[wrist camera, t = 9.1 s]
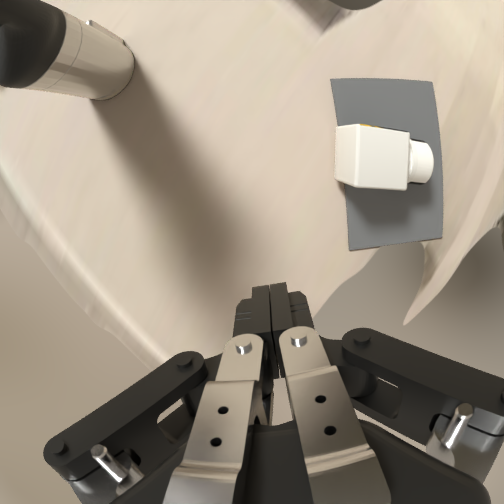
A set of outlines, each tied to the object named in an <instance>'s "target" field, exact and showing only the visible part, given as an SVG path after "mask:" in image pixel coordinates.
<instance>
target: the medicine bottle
mask: <svg viewBox="0 0 504 504" xmlns="http://www.w3.org/2000/svg"><path fill="white" fill-rule="evenodd" d="M433 167H434V158H433V153H432V150H431V148H430V147H429V145H428V144H427V143H426V142H425V141H422V140H417V139H412V138H410V133H409V132H408V131H403V130H398V129H392V128H385V127H379V126H372V125H365V124H353V125H345V126H338V127H336V144H335V174H334V178H335V180H337V181H340V182H343V183H345V184H348V185H351V186H353V187H356V188H373V189H388V190H402V191H404V190H406V189H407V184H416V185H423V184H425V183H426V182H427V181H428V180H429V179H430V177H431V175H432V172H433Z"/></svg>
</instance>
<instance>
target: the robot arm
mask: <svg viewBox="0 0 504 504" xmlns="http://www.w3.org/2000/svg"><path fill="white" fill-rule="evenodd" d="M133 70H134V57H133V55H132V52H131V51H130V50H129V48H127V47H126V46H125V45H124V44H123V39H121V38H120V37H118V36H117V35H115V34H114V33H112V32H110V31H109V30H107V29H105V28H104V27H102V26H101V25H99V24H97V23H96V22H94V21H92V20H90V21H87V22H83V21H81V20H79V19H78V18H76V17H74V16H72V15H70V14H68V13H66V12H64V11H62V10H60V9H58V8H56V7H54V6H52V5H50V4H47V3H45V2H43V1H40V0H0V85H1V86H4V87H9V88H19V89H29V90H38V91H46V92H53V93H60V94H66V95H73V96H79V97H84V98H90V99H95V100H106V99H109V98H112V97H114V96H115V95H117V94H118V93H120V92H121V91H122V90H123V89H124V88H125V86H126V85H127V84H128V82H129V81H130V78H131V76H132V74H133ZM278 363H279V366H278ZM279 369H280V375H281V378H284V377H285V380H286V386H287V393H288V397H289V402H290V408H291V412H292V418H293V420H292V421H289V422H287V423H283V424H280V425H276V426H272V414H273V398H274V393H273V385H274V384H273V379H277V378H279ZM378 377H379V378H381V379H384V380H385V381H388V382H390V383H392V384H394V385H396V386H398V388H397V387H395V386H393V385H391V384H389V383H387V382H384V381H382V380H380V379H378ZM180 398H181V400H182V402H183V404H182V405H181V406H180V407H178V408H177V409H176V410H175V411H173V412H172V413H171V414H169V415H168V416H167V417H166V418H165V419H163V420H162V421H161V422H159V423H158V424H157V419H158V417H159V415H160V414H161V413H162V412H163V411H165V410H166V409H167V408H169V407H170V406H171V405H173V404H174V403H175V402H176V401H178V400H179V399H180ZM354 408H355V409H356V410H358V411H360V412H362V413H363V414H365V415H367V416H369V417H371V418H372V419H374V420H376V421H378V422H380V423H382V424H384V425H385V426H387V427H389V428H391V429H393V430H395V431H397V432H399V433H401V434H403V435H405V436H406V437H409V438H410V439H412V440H414V441H416V442H418V443H421V444H422V445H425V446H426V452H427V453H425V452H423V451H421V450H420V449H418V448H416V447H414V446H412V445H410V444H409V443H407V442H405V441H403V440H401V439H400V438H398V437H396V436H395V435H393V434H391V433H389V432H388V431H386V430H384V429H383V428H381V427H379V426H377V425H375V424H373V423H370V422H368V421H365V420H360V419H358V418H357V415H356V413H355V410H354ZM503 442H504V379H503V378H500V377H498V376H495V375H492V374H489V373H486V372H483V371H481V370H478V369H475V368H472V367H470V366H467V365H464V364H462V363H459V362H456V361H453V360H451V359H448V358H445V357H442V356H440V355H437V354H435V353H432V352H429V351H427V350H424V349H422V348H419V347H416V346H414V345H411V344H409V343H406V342H403V341H401V340H398V339H395V338H393V337H390V336H388V335H385V334H382V333H380V332H378V331H375V330H373V329H369V328H357V329H353V330H351V331H349V332H347V333H346V334H345V335H344V336H343V338H342V340H330V339H326V338H323V337H321V336H320V335H318V333H317V332H316V330H315V329H314V325H313V321H312V317H311V314H310V310H309V306H308V303H307V299H306V296H305V295H304V294H302V293H301V292H300V291H297V292H290V293H288V291H287V285H286V282H284V283H277V284H271V285H270V289H269V285H265V286H258V287H252V298H251V299H244V300H242V301H241V302H240V303H239V304H238V305H237V308H236V315H235V323H234V331H233V338H232V339H230V340H229V341H228V342H227V343H226V345H225V347H224V351H223V353H221V354H219V355H217V356H214V357H211V358H208V359H204V358H203V356H202V355H201V354H200V353H198V352H194V351H187V352H182V353H179V354H177V355H175V356H174V357H172V358H171V359H169V360H168V361H166V362H165V363H164V364H162V365H161V366H159V367H158V368H156V369H155V370H154V371H152V372H151V373H149V374H148V375H147V376H145V377H144V378H142V379H141V380H139V381H138V382H136V383H135V384H133V385H132V386H130V387H129V388H128V389H126V390H125V391H123V392H122V393H120V394H119V395H117V396H116V397H114V398H113V399H111V400H110V401H108V402H107V403H105V404H104V405H102V406H101V407H99V408H98V409H96V410H95V411H93V412H92V413H90V414H89V415H87V416H86V417H85V418H83V419H81V420H79V421H78V422H76V423H75V424H73V425H72V426H70V427H69V428H67V429H65V430H64V431H62V432H61V433H59V434H58V435H56V436H54V437H53V438H51V439H50V440H49V441H48V442H47V444H46V445H45V448H44V452H43V454H44V459H45V461H46V462H47V463H48V464H49V465H50V466H51V467H52V468H53V469H54V470H55V471H56V472H58V473H59V474H60V476H61V477H62V478H63V479H64V480H66V482H68V483H69V484H70V485H71V487H72V488H73V490H74V492H75V494H76V495H77V497H78V498H79V500H80V501H81V503H82V504H491V500H490V496H489V493H488V491H487V489H486V488H485V487H484V485H483V482H484V481H485V479H486V477H487V475H488V473H489V471H490V469H491V467H492V465H493V463H494V461H495V459H496V457H497V455H498V452H499V450H500V448H501V446H502V443H503Z"/></svg>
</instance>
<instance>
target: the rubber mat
mask: <svg viewBox="0 0 504 504" xmlns="http://www.w3.org/2000/svg"><path fill="white" fill-rule="evenodd" d="M330 81H331V86H332V92H333V98H334V104H335V110H336V117H337V124H338V126H345V125H353V124H365V125H372V126H379V127H385V128H392V129H398V130H403V131H408V132H409V133H410V138H412V139H417V140H422V141H425V142H426V143H427V144H428V145H429V147H430V148H431V150H432V153H433V158H434V167H433V172H432V175H431V177H430V179H429V180H428V181H427V182H426V183H425V184H423V185H416V184H407V189H406V190H404V191H402V190H388V189H373V188H356V187H353V186H351V185H348V184H345V195H346V207H347V222H348V240H349V250H356V249H363V248H371V247H378V246H385V245H392V244H399V243H407V242H414V241H421V240H428V239H435V238H442V230H443V173H442V155H441V142H440V132H439V123H438V115H437V108H436V101H435V95H434V89H433V83H432V82H428V81H417V80H403V79H379V78H344V79H330Z"/></svg>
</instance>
